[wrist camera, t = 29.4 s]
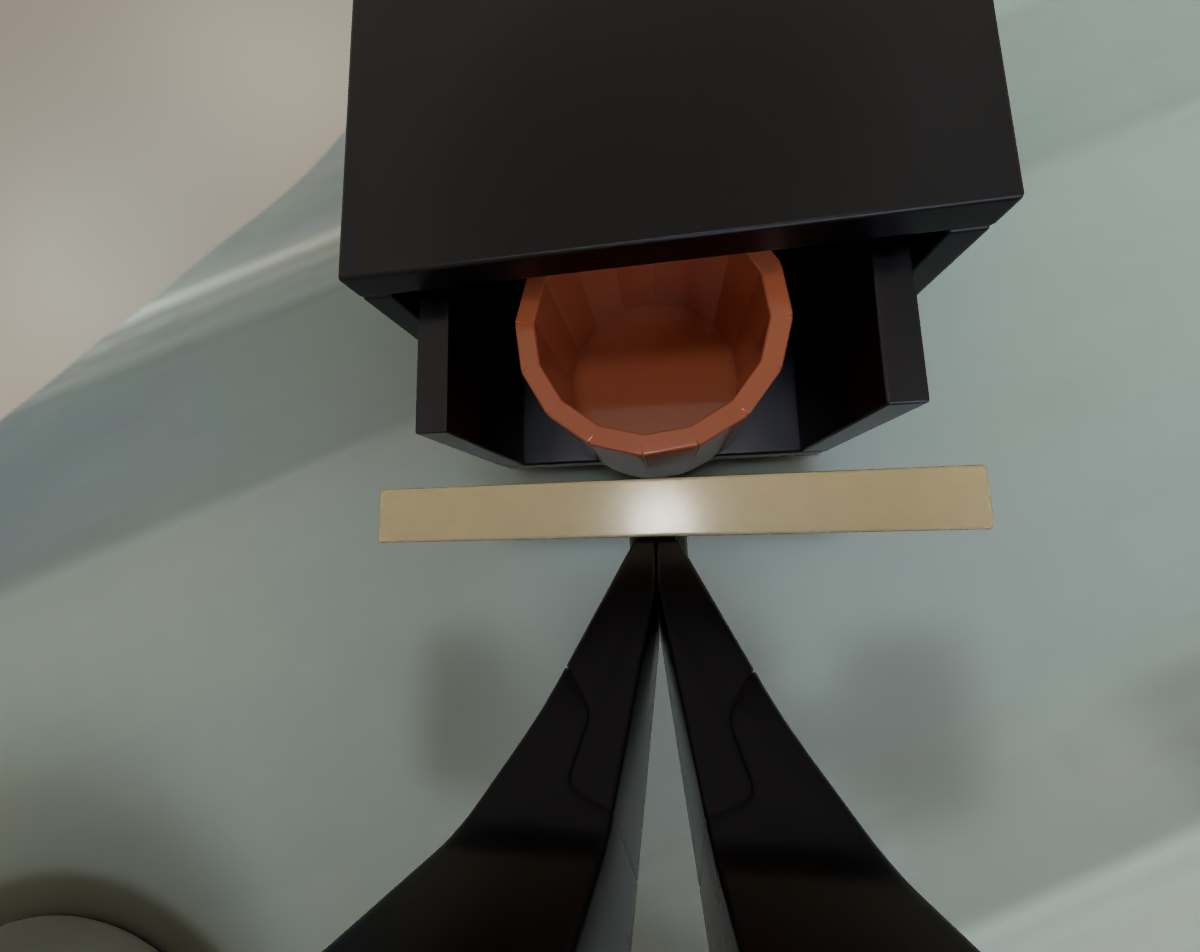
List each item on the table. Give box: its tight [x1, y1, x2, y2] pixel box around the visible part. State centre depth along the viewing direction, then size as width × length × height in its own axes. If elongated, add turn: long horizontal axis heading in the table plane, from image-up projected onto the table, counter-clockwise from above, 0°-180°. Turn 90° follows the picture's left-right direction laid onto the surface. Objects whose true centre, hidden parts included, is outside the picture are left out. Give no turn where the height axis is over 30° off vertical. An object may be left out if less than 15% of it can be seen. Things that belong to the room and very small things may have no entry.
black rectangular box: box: [338, 0, 1024, 339], centre depth 14 cm, size 15×14×9 cm
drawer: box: [379, 235, 994, 556], centre depth 13 cm, size 15×12×7 cm
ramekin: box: [515, 250, 793, 478], centre depth 12 cm, size 6×6×5 cm
